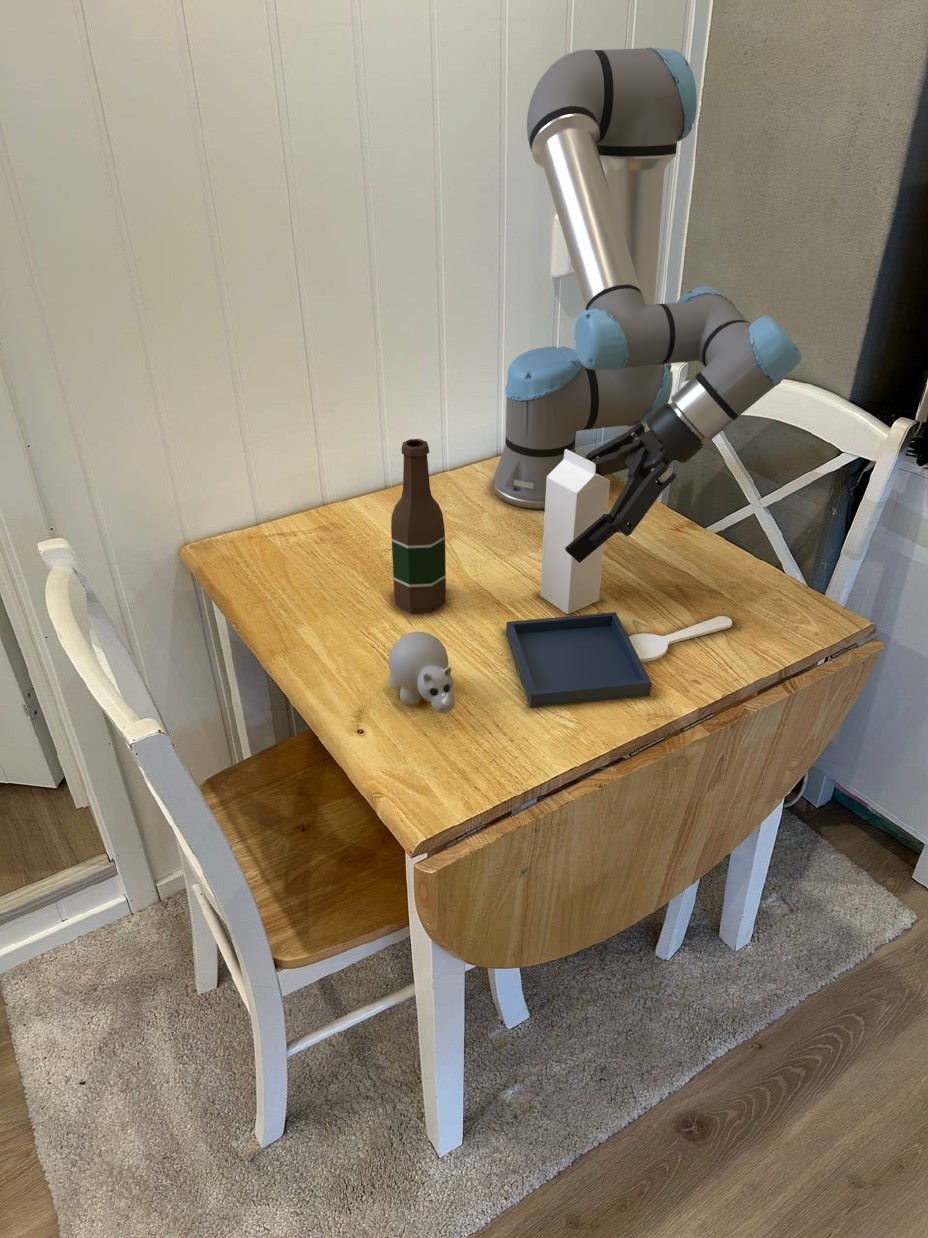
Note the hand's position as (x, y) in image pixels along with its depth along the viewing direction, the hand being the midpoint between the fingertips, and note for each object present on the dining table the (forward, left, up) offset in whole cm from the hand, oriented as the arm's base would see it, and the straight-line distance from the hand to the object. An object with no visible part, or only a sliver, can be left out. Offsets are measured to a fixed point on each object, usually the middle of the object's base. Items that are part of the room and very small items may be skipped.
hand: (563, 530), depth 129 cm
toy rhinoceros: (+20, -21, -11) cm, 32 cm away
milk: (0, +2, -11) cm, 12 cm away
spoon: (+12, +13, -11) cm, 21 cm away
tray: (+15, -1, -11) cm, 19 cm away
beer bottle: (-3, -19, -11) cm, 23 cm away
